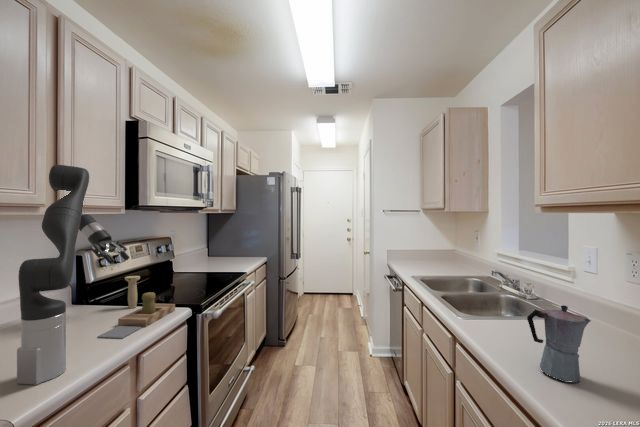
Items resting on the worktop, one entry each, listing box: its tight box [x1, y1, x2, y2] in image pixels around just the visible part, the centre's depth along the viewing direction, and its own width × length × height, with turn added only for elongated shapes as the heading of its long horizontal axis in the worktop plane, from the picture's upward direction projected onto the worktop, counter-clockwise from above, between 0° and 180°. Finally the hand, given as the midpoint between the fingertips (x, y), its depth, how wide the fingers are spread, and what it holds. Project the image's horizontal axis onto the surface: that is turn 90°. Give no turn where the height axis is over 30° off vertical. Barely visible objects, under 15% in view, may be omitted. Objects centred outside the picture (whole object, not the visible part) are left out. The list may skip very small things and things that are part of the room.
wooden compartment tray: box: [117, 302, 176, 328], centre depth 127 cm, size 20×12×3 cm, turn 175°
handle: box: [124, 275, 141, 309], centre depth 140 cm, size 5×6×15 cm
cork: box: [141, 291, 156, 314], centre depth 127 cm, size 6×6×11 cm
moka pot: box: [526, 305, 592, 382], centre depth 82 cm, size 10×15×20 cm, turn 81°
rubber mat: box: [96, 325, 143, 340], centre depth 111 cm, size 10×10×1 cm
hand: (120, 260), depth 128 cm, fingers open, 8 cm apart
